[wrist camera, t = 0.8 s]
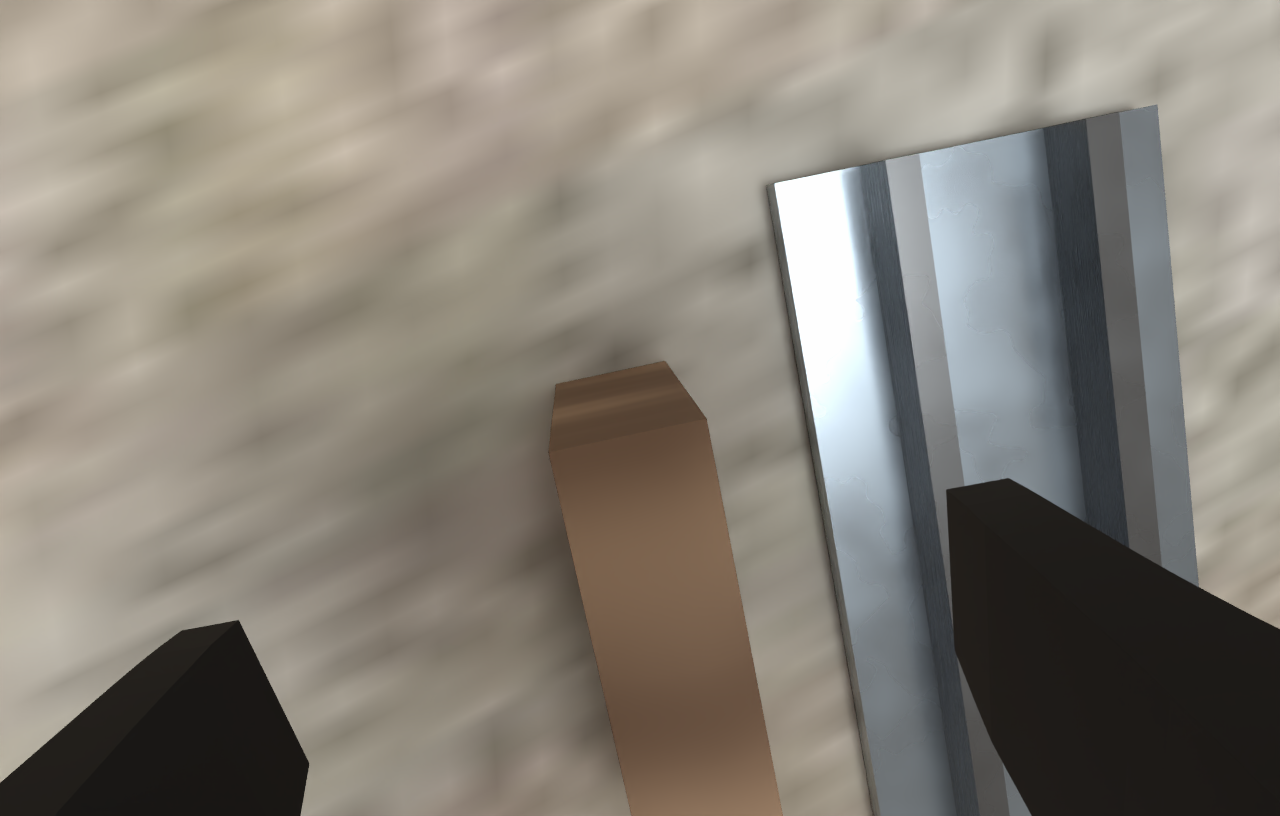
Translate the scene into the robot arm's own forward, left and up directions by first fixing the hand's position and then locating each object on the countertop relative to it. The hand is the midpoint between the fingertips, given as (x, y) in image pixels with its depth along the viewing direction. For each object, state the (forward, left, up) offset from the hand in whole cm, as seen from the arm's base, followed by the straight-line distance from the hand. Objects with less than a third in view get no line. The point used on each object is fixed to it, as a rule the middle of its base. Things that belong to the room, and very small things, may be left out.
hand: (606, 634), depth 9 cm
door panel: (-6, -1, -16) cm, 17 cm away
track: (-6, -11, -16) cm, 20 cm away
